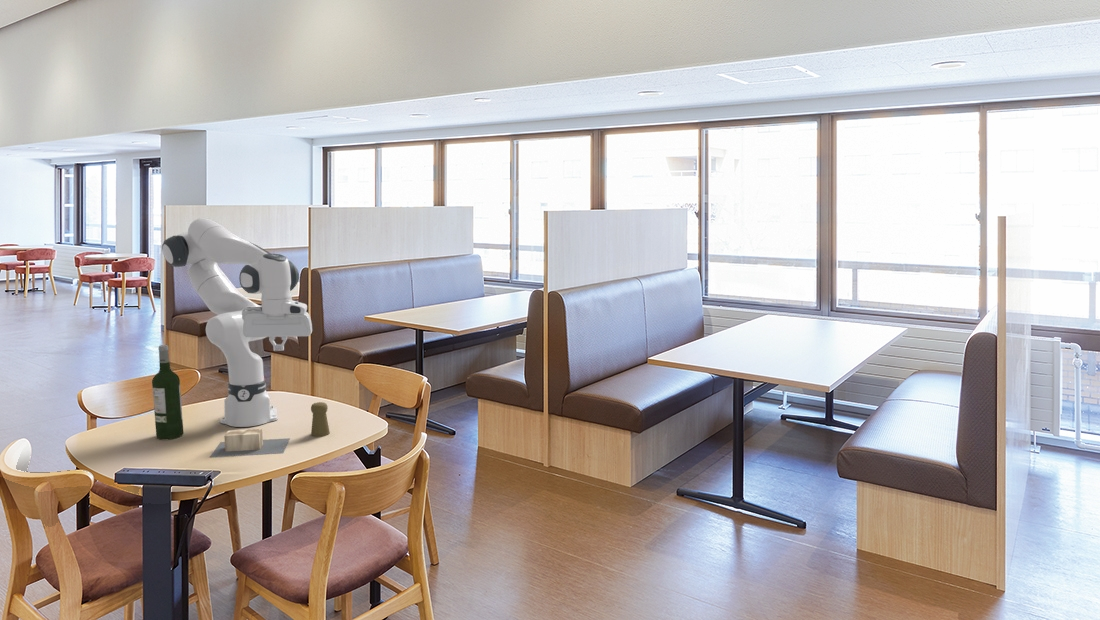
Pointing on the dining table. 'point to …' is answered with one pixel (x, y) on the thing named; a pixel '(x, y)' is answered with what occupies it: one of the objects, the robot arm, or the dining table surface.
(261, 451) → the rubber mat
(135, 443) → the dining table surface
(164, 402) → the wine bottle
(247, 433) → the pine block
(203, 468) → the dining table surface
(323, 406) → the cork
